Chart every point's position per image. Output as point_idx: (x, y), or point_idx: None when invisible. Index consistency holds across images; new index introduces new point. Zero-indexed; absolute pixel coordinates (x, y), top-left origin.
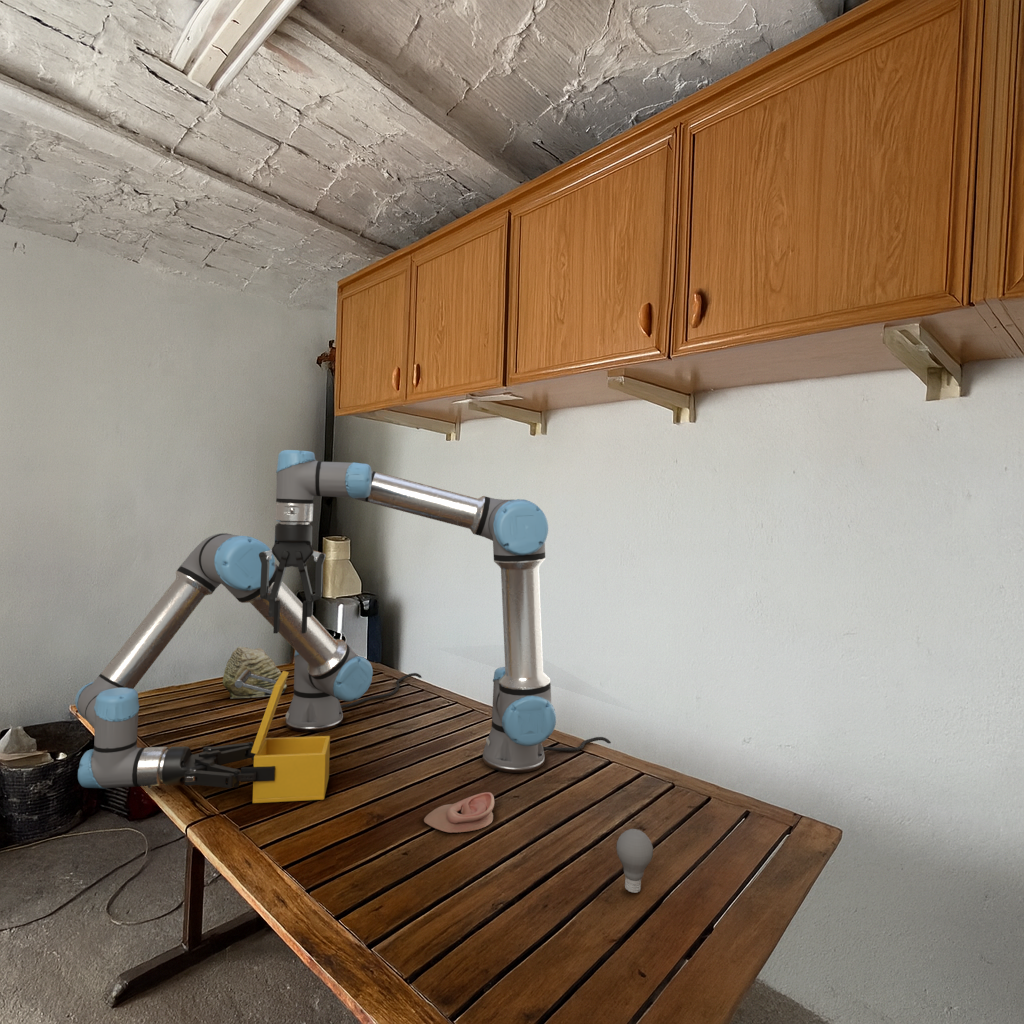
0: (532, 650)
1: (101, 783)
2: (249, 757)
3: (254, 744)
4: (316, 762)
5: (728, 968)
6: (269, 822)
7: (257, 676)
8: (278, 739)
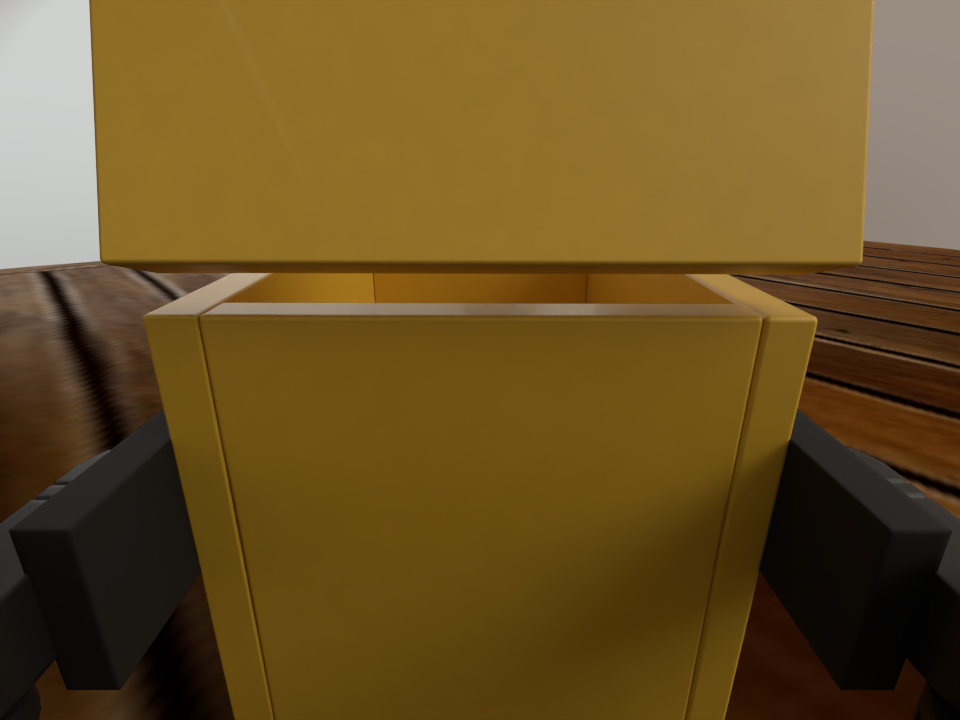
0: None
1: None
2: (35, 715)
3: (859, 132)
4: None
5: (883, 244)
6: None
7: None
8: (274, 277)
